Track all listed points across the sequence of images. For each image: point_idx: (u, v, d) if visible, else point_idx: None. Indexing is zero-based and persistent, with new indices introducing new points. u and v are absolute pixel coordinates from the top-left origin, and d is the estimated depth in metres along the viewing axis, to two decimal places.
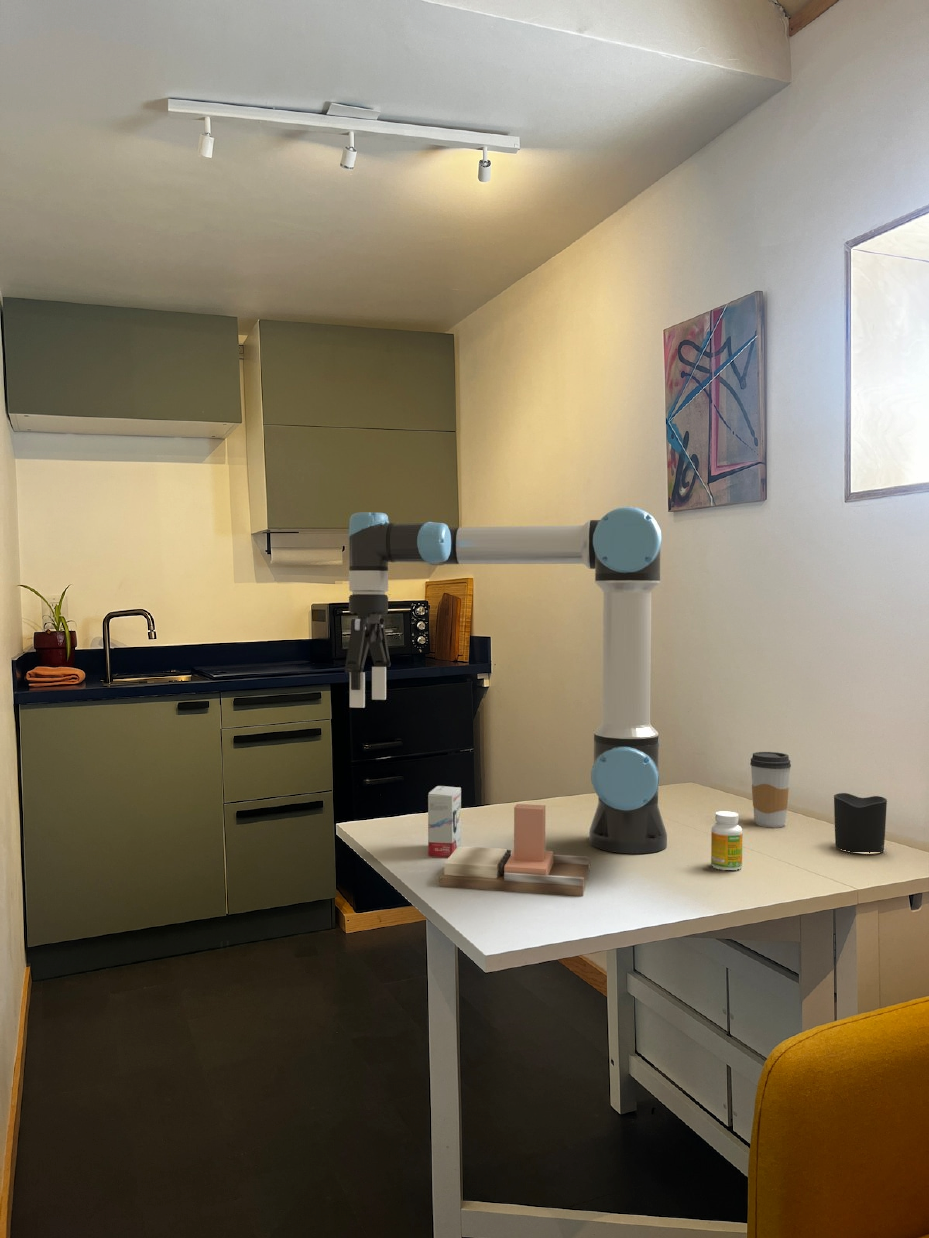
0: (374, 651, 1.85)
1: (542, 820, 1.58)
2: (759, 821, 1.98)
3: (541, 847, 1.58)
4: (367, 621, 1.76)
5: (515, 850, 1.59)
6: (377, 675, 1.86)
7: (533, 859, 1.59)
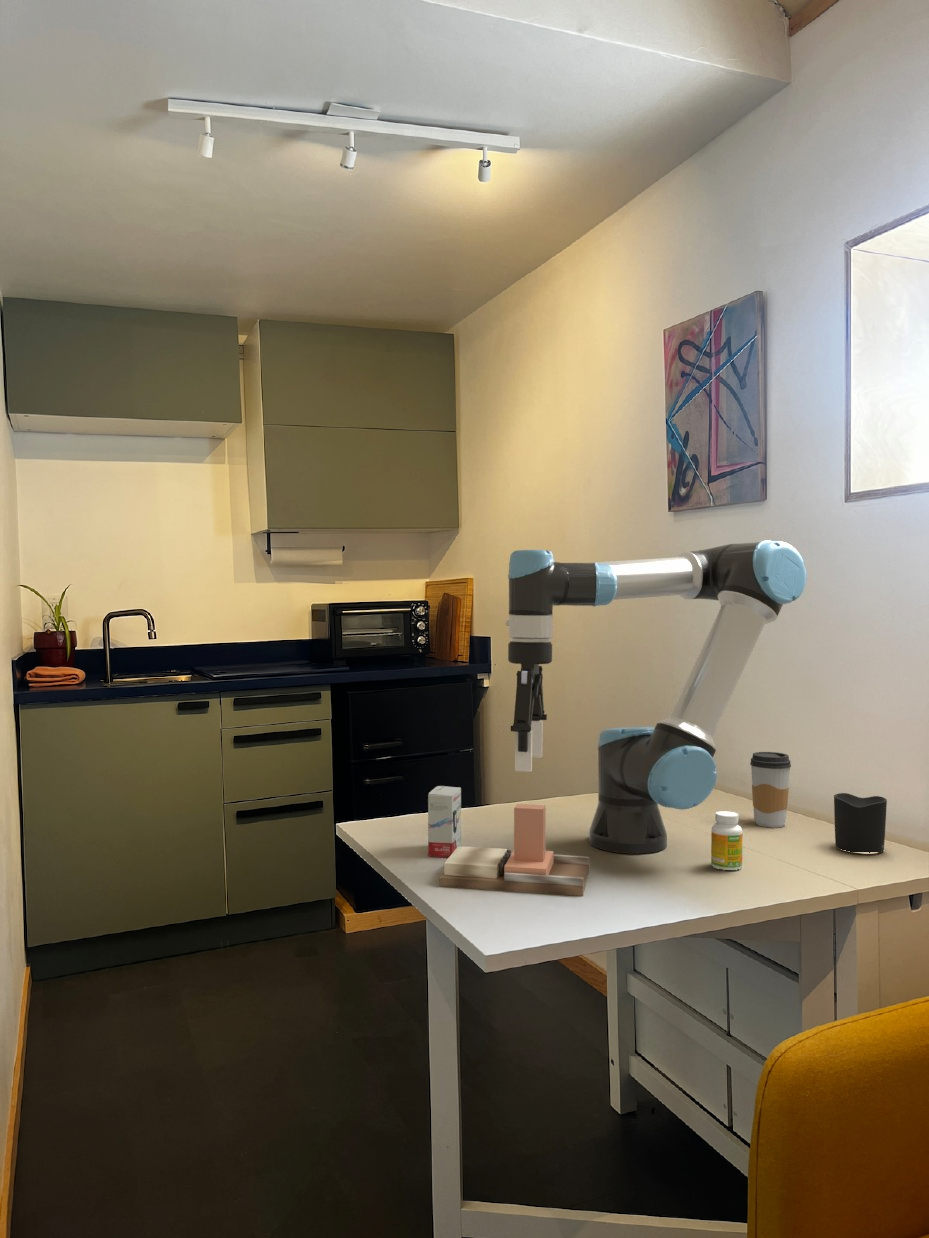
0: None
1: (542, 820, 1.58)
2: (759, 821, 1.98)
3: (541, 847, 1.58)
4: (532, 673, 1.56)
5: (515, 850, 1.59)
6: (533, 730, 1.66)
7: (533, 859, 1.59)
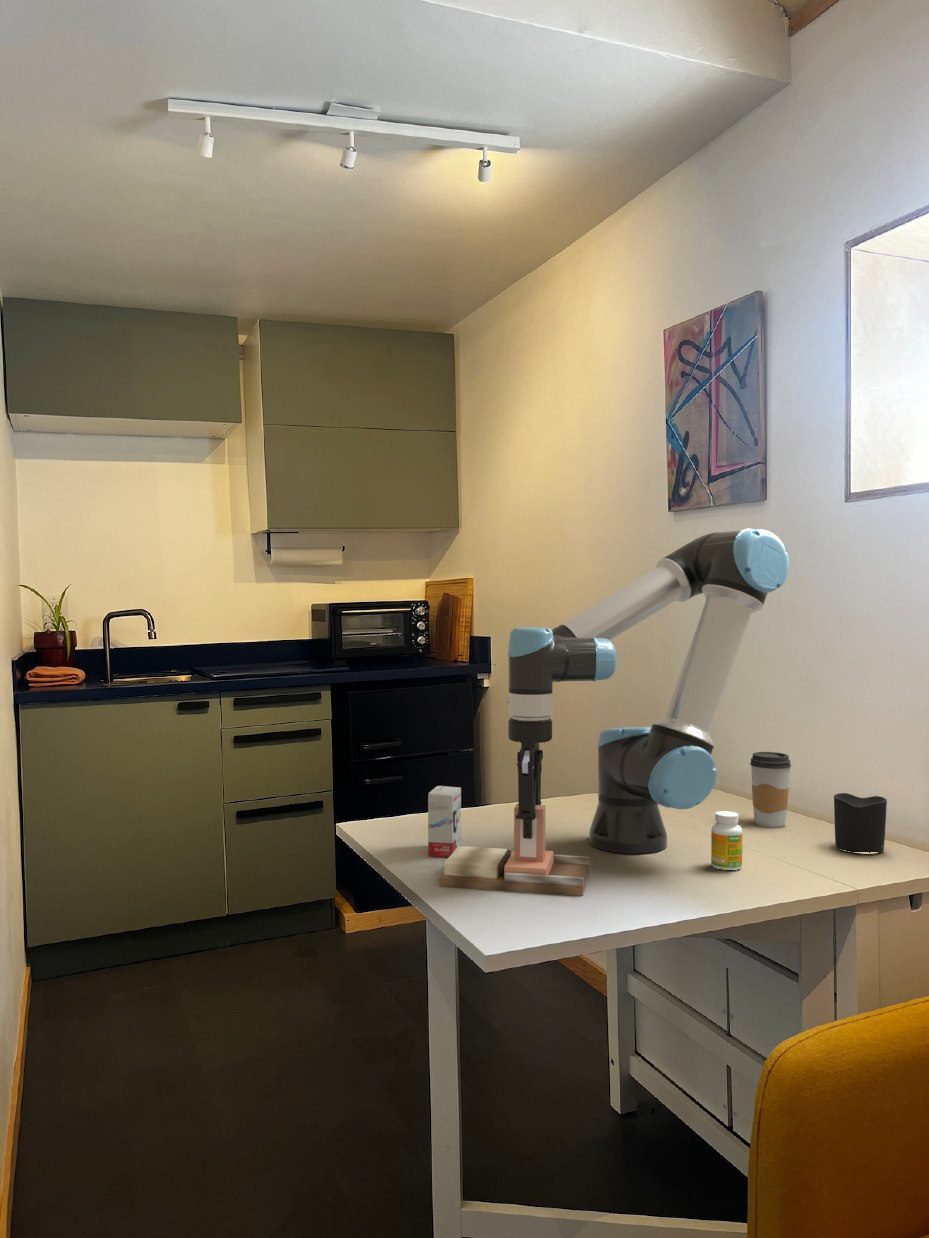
0: None
1: (542, 820, 1.58)
2: (759, 821, 1.98)
3: (541, 847, 1.58)
4: (532, 754, 1.56)
5: (515, 850, 1.59)
6: None
7: (533, 859, 1.59)
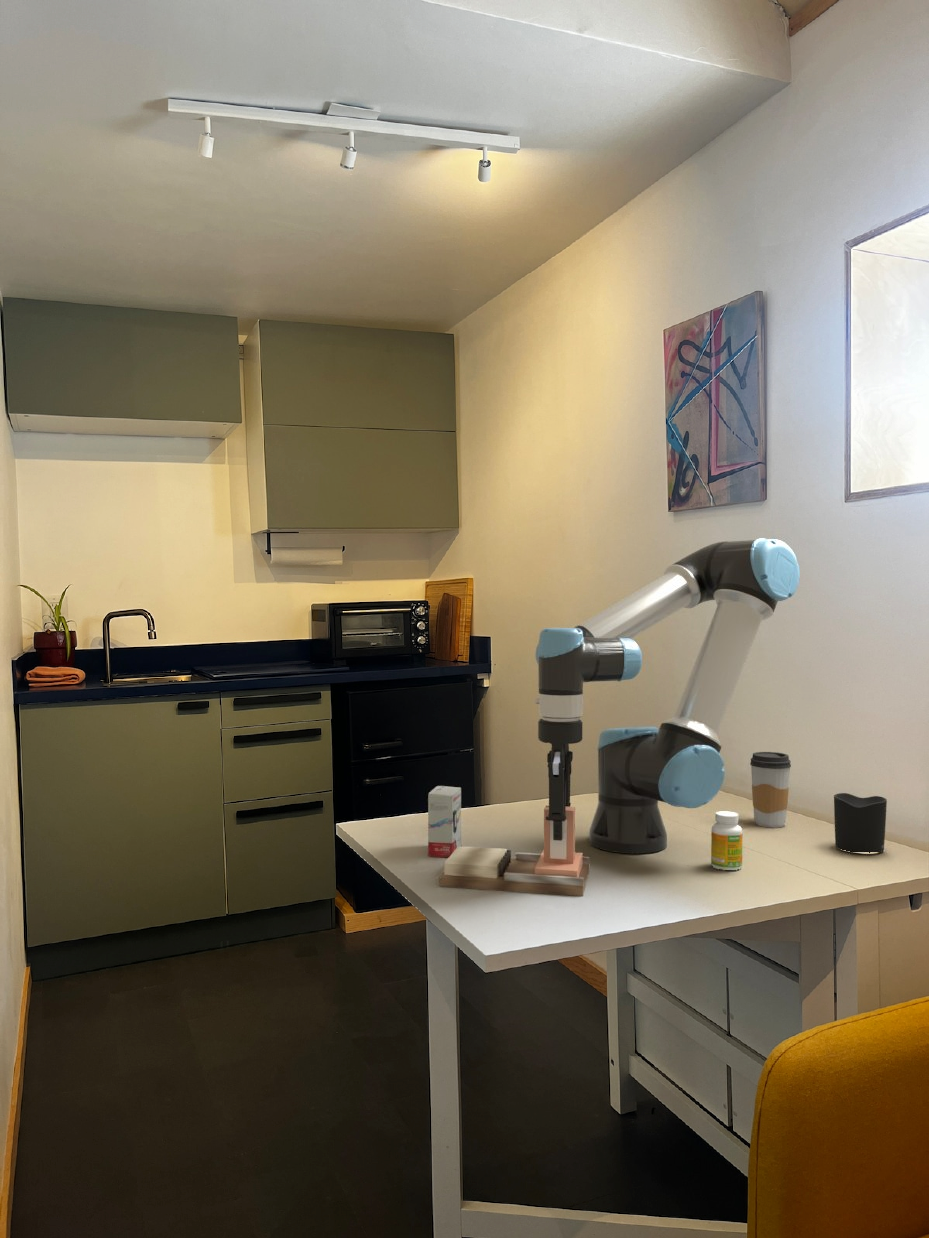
0: None
1: (572, 822, 1.57)
2: (759, 821, 1.98)
3: (571, 849, 1.57)
4: (563, 755, 1.55)
5: (545, 852, 1.58)
6: None
7: (563, 861, 1.58)
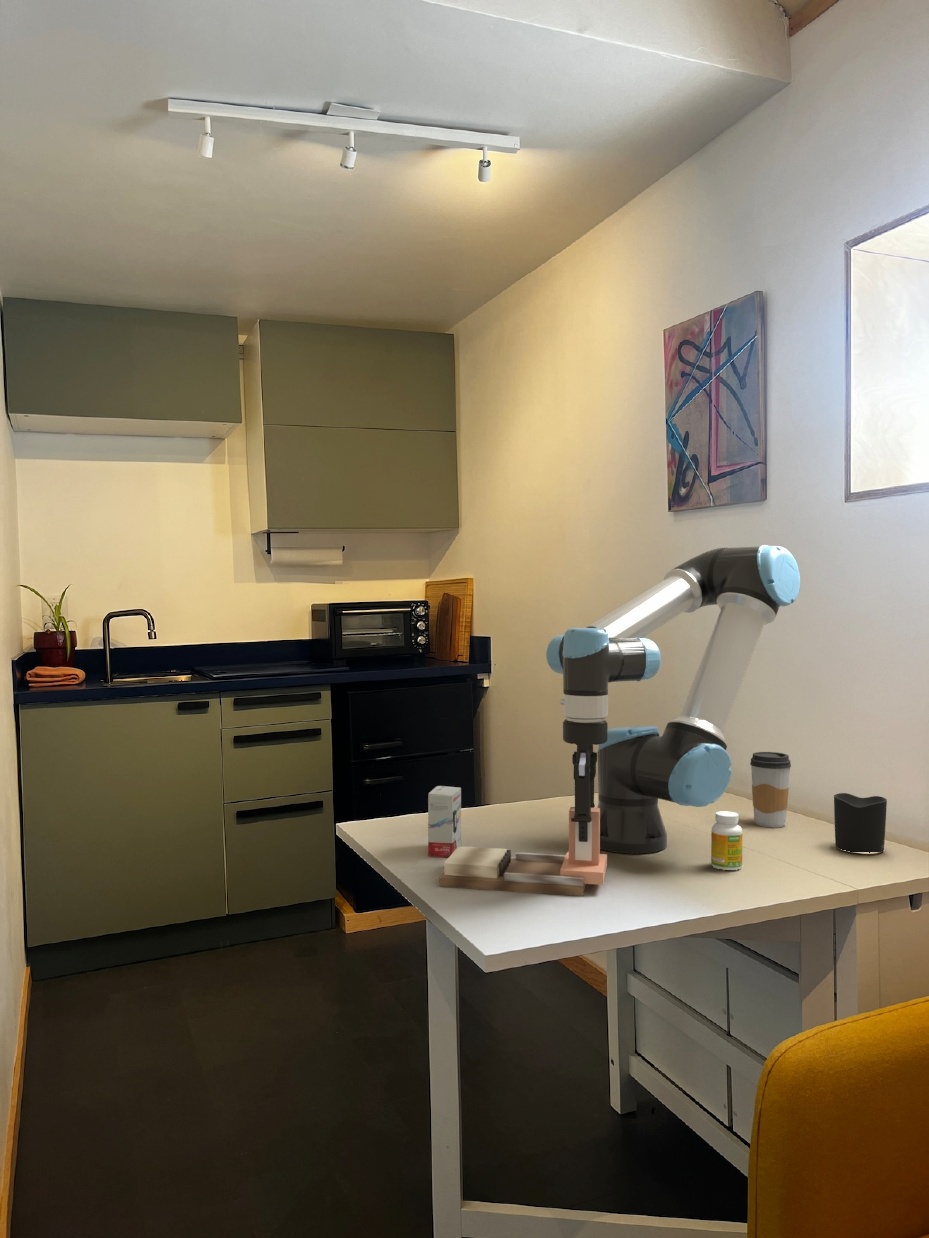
0: None
1: (597, 823, 1.56)
2: (759, 821, 1.98)
3: (596, 850, 1.56)
4: (589, 756, 1.54)
5: (570, 853, 1.57)
6: None
7: (588, 862, 1.57)
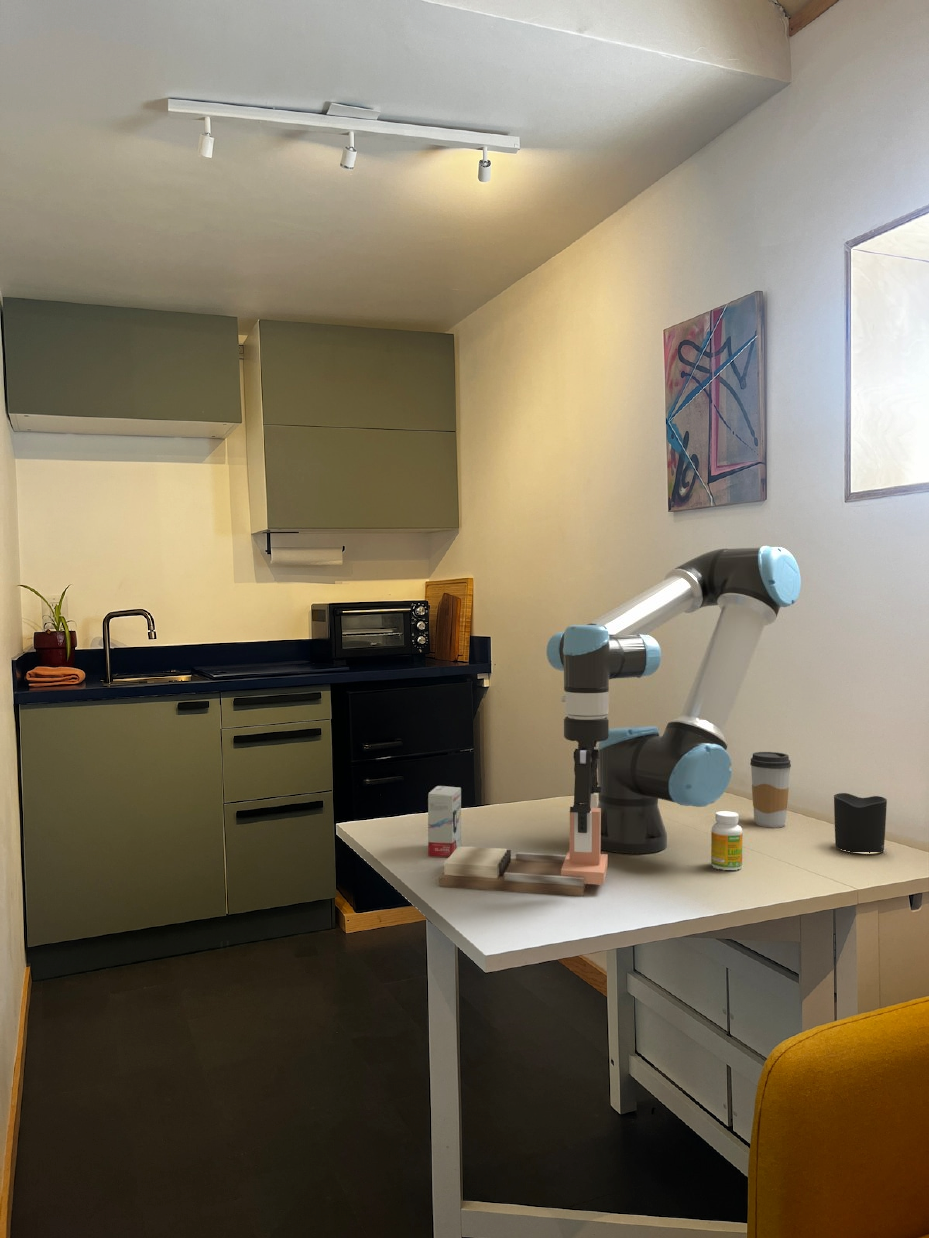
0: None
1: (598, 823, 1.56)
2: (759, 821, 1.98)
3: (597, 850, 1.56)
4: (590, 751, 1.54)
5: (571, 853, 1.57)
6: None
7: (589, 862, 1.57)
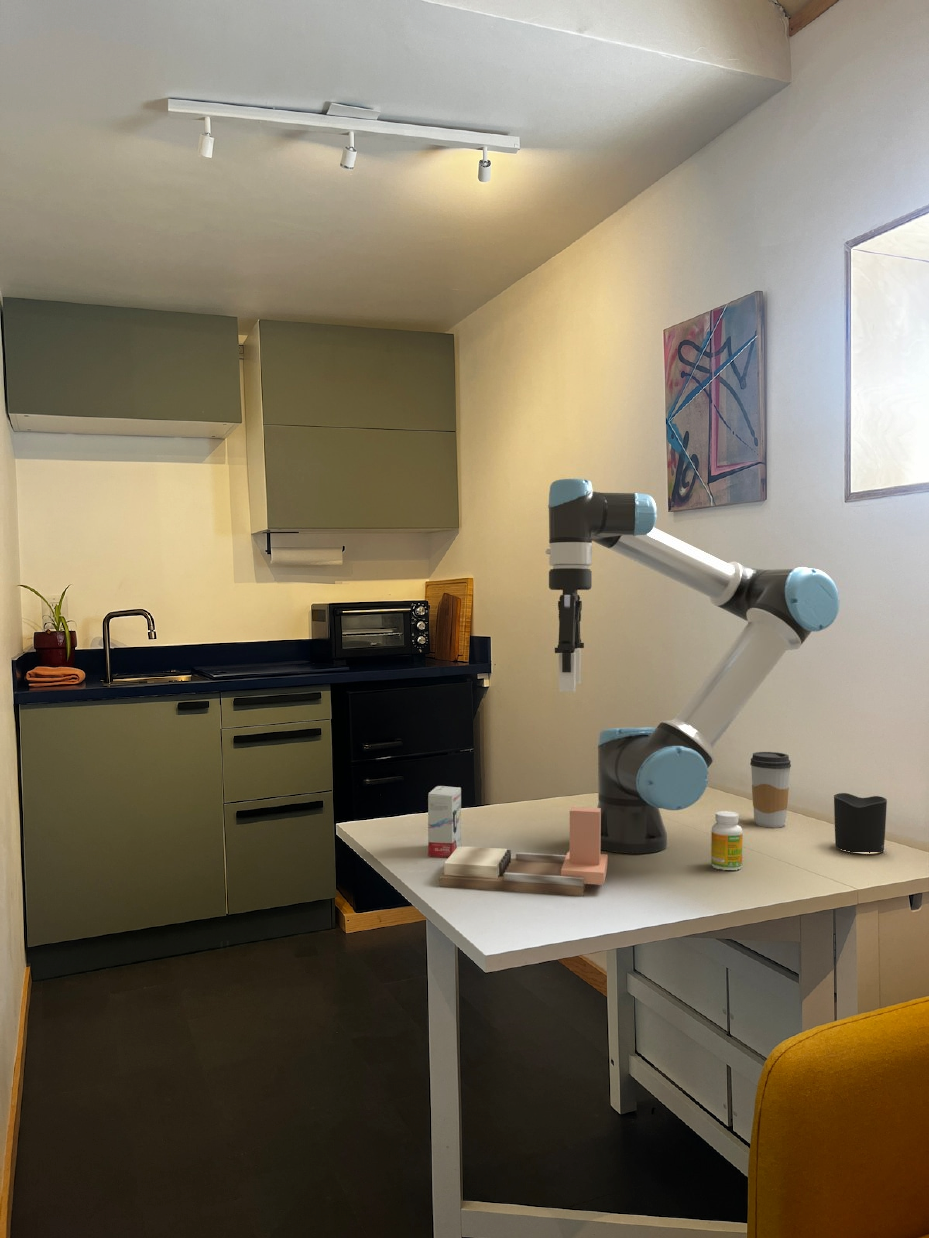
0: None
1: (598, 823, 1.56)
2: (759, 821, 1.98)
3: (597, 850, 1.56)
4: None
5: (571, 853, 1.57)
6: None
7: (589, 862, 1.57)
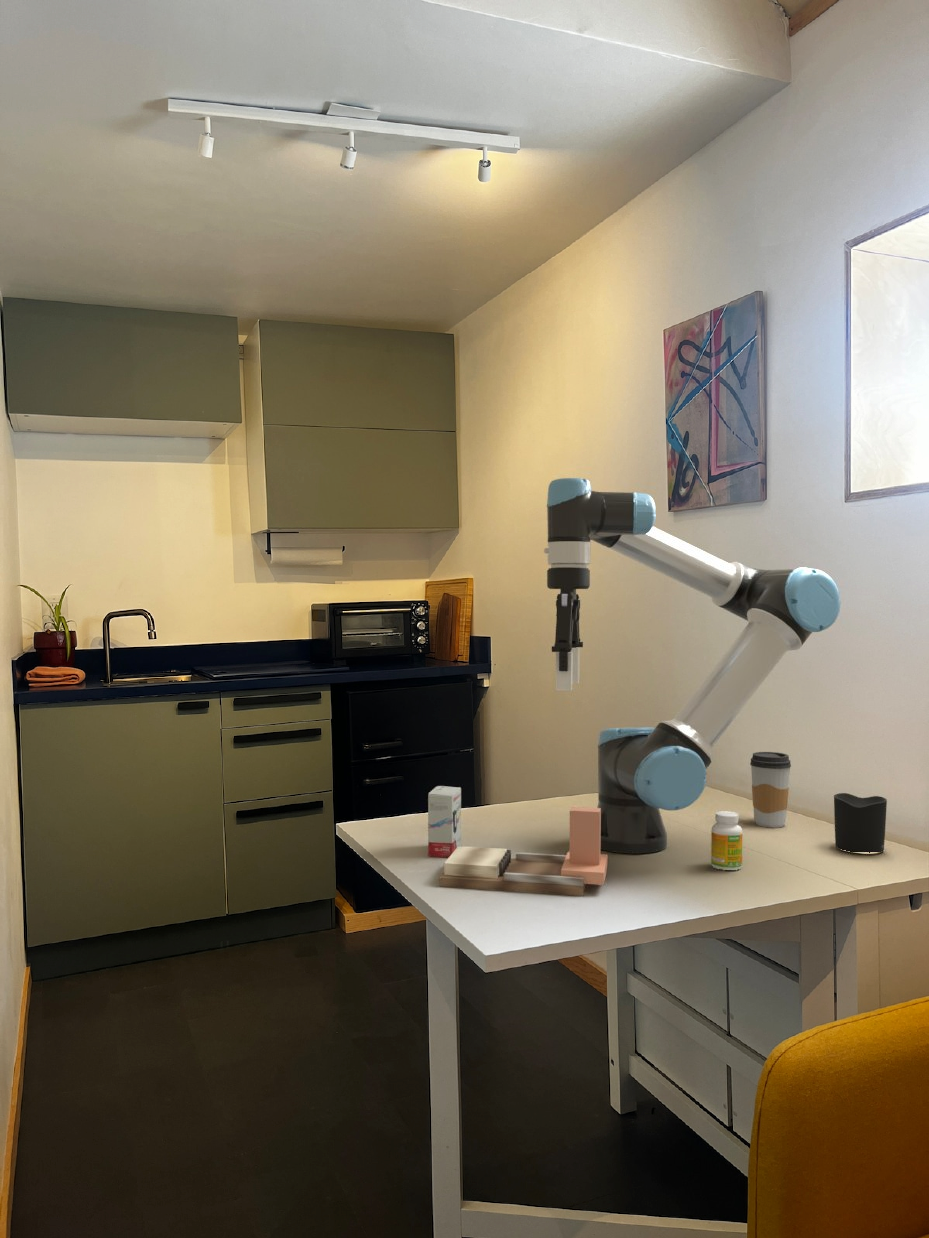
0: None
1: (598, 823, 1.56)
2: (759, 821, 1.98)
3: (597, 850, 1.56)
4: None
5: (571, 853, 1.57)
6: None
7: (589, 862, 1.57)
